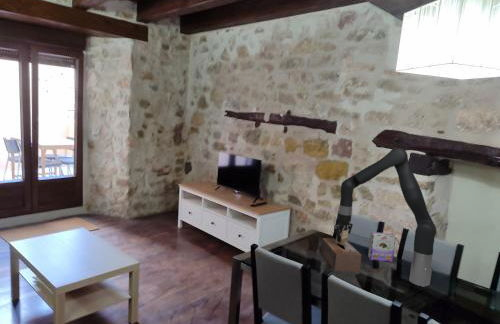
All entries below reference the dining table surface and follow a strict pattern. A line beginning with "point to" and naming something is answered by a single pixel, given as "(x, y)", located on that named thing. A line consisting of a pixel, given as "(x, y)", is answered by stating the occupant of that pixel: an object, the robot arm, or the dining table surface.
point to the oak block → (343, 237)
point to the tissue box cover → (341, 255)
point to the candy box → (381, 247)
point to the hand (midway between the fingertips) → (341, 241)
